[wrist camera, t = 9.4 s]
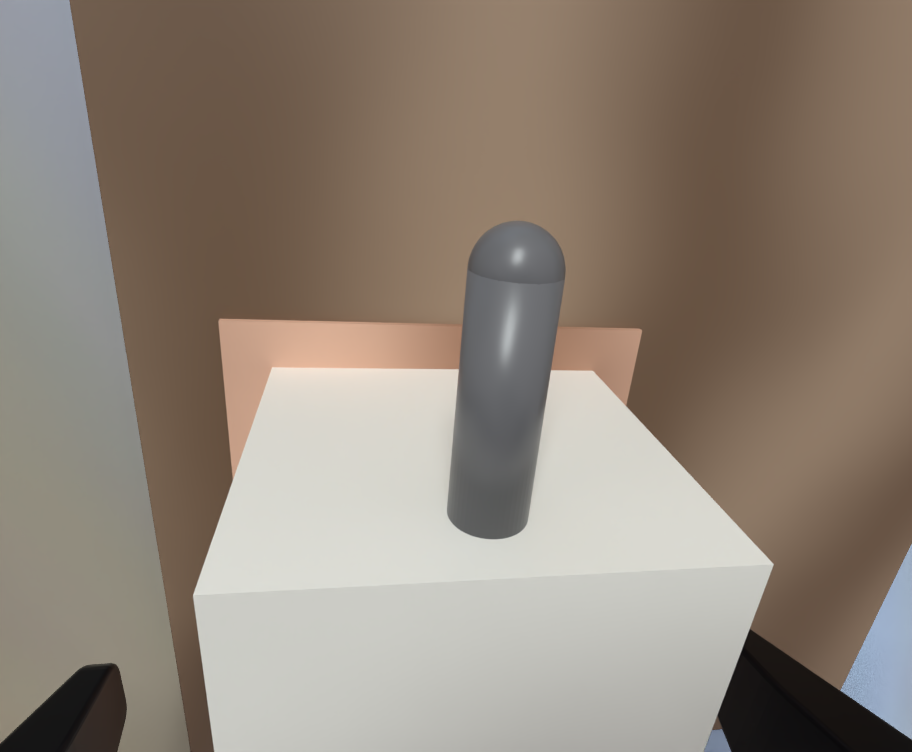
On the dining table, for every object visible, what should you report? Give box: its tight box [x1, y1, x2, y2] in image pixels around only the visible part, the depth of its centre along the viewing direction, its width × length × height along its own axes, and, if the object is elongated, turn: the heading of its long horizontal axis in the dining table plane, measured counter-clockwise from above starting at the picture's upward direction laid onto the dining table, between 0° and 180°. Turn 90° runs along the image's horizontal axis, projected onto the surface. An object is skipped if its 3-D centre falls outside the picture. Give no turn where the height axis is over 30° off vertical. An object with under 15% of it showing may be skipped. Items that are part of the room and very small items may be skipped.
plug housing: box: [193, 221, 774, 752], centre depth 8 cm, size 5×11×4 cm, turn 176°
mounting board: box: [70, 0, 912, 752], centre depth 9 cm, size 15×18×3 cm
